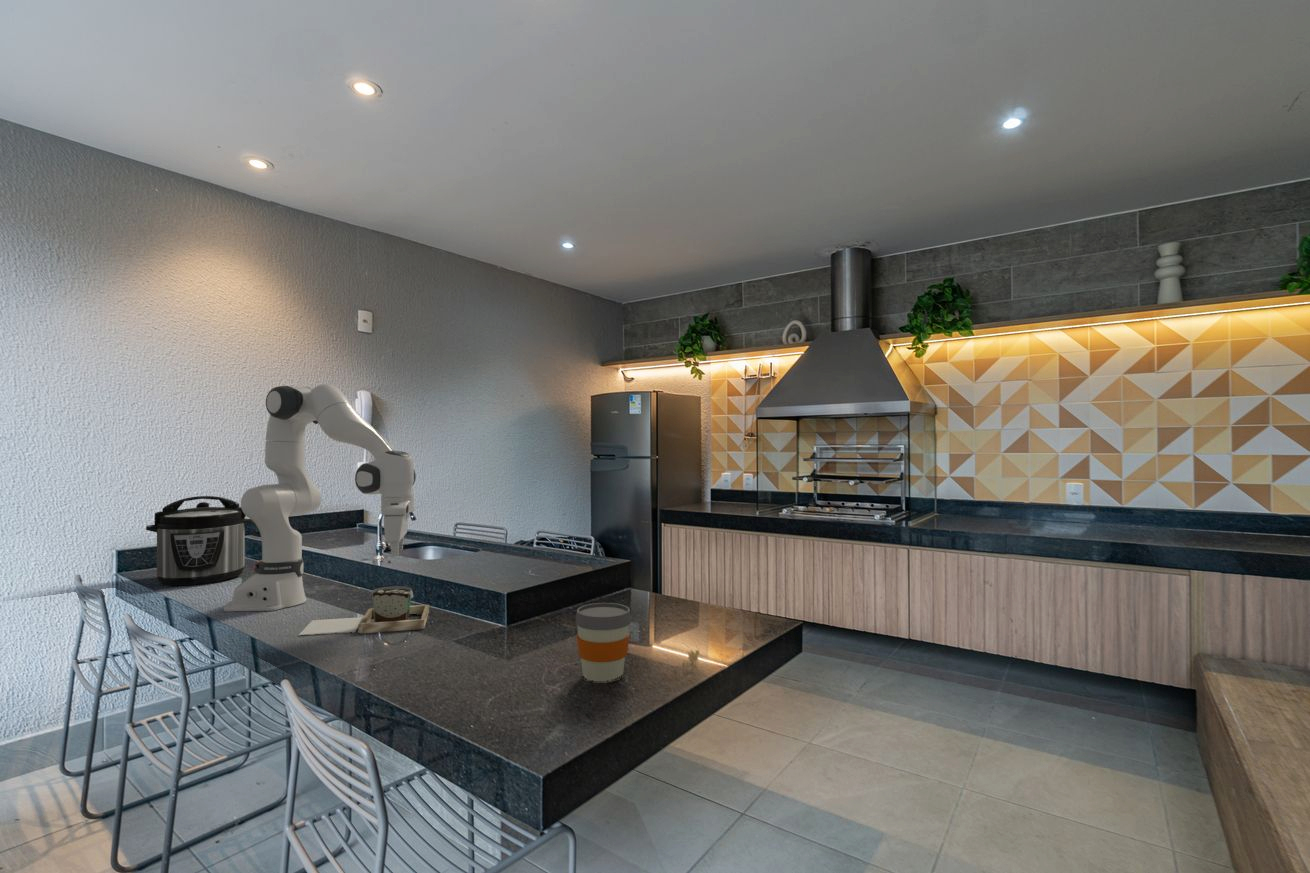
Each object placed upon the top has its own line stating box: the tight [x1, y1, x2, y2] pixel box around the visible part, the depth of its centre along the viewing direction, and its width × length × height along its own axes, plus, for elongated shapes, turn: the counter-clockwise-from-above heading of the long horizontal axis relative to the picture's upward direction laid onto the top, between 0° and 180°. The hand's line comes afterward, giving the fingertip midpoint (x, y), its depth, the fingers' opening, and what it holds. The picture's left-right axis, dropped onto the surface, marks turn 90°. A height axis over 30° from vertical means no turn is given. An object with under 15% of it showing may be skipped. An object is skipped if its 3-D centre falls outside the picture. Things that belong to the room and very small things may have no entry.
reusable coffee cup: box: [575, 602, 632, 681], centre depth 137 cm, size 13×13×15 cm
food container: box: [370, 585, 414, 622], centre depth 177 cm, size 12×6×10 cm, turn 84°
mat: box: [298, 616, 364, 637], centre depth 172 cm, size 14×14×1 cm
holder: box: [357, 604, 430, 634], centre depth 177 cm, size 17×17×2 cm
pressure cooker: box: [145, 495, 254, 586], centre depth 231 cm, size 30×28×32 cm
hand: (397, 553), depth 177 cm, fingers open, 8 cm apart
